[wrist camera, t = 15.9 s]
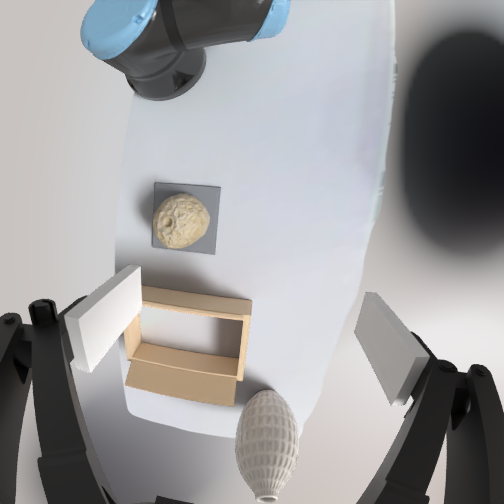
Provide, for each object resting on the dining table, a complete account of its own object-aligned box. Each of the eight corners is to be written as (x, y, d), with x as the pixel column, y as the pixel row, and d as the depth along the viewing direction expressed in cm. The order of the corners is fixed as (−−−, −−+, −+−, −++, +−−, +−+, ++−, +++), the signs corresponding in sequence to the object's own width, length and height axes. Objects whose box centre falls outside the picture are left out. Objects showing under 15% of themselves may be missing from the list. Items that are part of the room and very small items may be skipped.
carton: (132, 271, 53) (105, 294, 42) (253, 288, 53) (251, 317, 42) (138, 354, 58) (119, 384, 47) (243, 372, 58) (239, 408, 47)
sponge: (166, 214, 53) (142, 251, 47) (169, 176, 46) (140, 213, 39) (209, 230, 54) (190, 271, 47) (218, 193, 46) (196, 235, 40)
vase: (236, 411, 62) (225, 507, 35) (244, 375, 58) (234, 483, 31) (286, 416, 62) (292, 511, 35) (299, 382, 59) (314, 487, 31)
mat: (156, 182, 48) (155, 182, 48) (220, 187, 48) (220, 187, 48) (153, 246, 51) (152, 247, 51) (215, 254, 51) (214, 254, 51)
